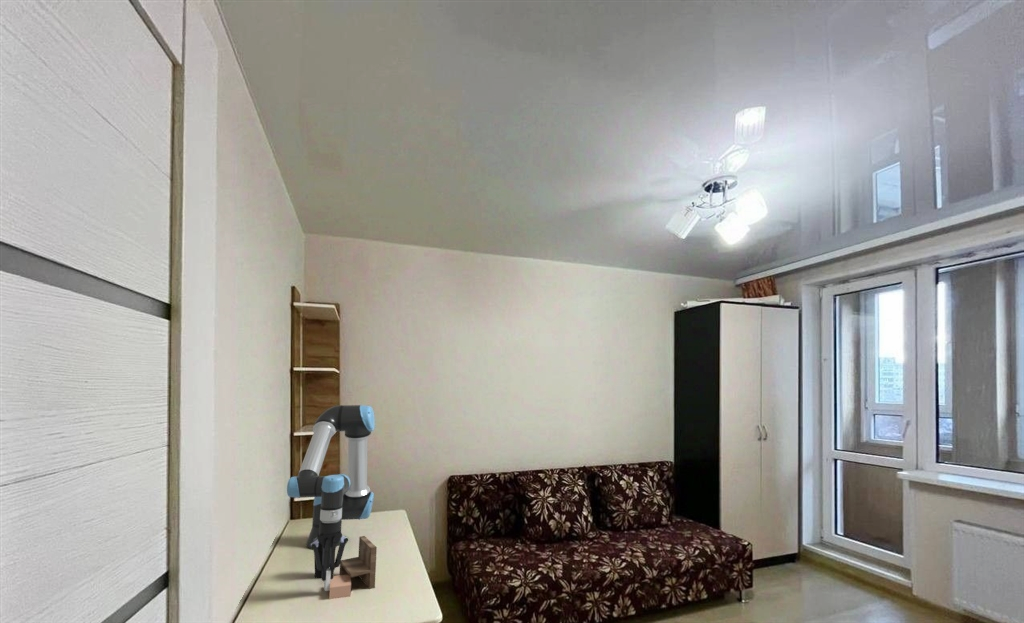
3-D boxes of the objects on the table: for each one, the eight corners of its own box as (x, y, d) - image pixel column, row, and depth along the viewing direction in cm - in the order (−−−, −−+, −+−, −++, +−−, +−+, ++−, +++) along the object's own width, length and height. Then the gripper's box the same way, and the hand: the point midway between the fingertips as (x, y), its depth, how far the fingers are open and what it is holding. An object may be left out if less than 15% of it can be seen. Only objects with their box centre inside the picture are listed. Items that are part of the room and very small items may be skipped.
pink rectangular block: (329, 599, 166) (329, 587, 166) (330, 587, 175) (330, 576, 175) (350, 597, 168) (351, 585, 168) (350, 585, 177) (350, 573, 178)
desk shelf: (339, 578, 182) (341, 539, 184) (362, 573, 187) (364, 535, 189) (349, 593, 170) (352, 552, 172) (374, 587, 175) (376, 547, 177)
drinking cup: (336, 573, 187) (339, 520, 190) (322, 581, 180) (325, 525, 182) (320, 570, 189) (323, 518, 192) (306, 578, 182) (310, 523, 185)
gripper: (314, 525, 167) (309, 597, 163) (351, 520, 174) (348, 588, 171) (309, 520, 173) (305, 589, 170) (346, 514, 180) (342, 581, 177)
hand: (326, 589), depth 170 cm, fingers closed
